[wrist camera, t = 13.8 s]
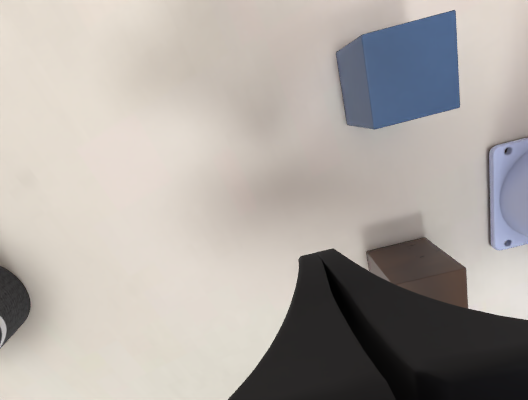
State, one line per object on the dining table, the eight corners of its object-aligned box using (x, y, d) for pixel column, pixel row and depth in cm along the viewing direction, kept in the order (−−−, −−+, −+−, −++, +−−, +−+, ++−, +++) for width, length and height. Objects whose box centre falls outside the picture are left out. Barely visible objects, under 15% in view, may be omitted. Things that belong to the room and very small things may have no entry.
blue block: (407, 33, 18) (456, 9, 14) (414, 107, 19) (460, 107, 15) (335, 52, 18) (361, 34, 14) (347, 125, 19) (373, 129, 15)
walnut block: (424, 237, 22) (466, 268, 18) (429, 287, 23) (469, 327, 19) (366, 251, 22) (393, 285, 18) (374, 300, 24) (401, 342, 19)
